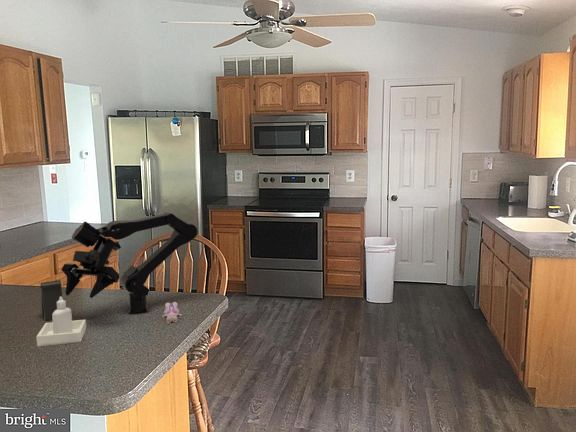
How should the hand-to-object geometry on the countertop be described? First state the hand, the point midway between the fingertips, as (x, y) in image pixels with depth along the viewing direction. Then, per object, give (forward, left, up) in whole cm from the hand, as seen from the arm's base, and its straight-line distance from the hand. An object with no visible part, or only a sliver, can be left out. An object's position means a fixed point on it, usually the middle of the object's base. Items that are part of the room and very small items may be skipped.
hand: (78, 296), depth 151 cm
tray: (+6, -4, -11) cm, 13 cm away
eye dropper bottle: (+6, -4, -10) cm, 13 cm away
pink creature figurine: (-4, +28, -11) cm, 30 cm away
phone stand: (-16, -11, -11) cm, 23 cm away
